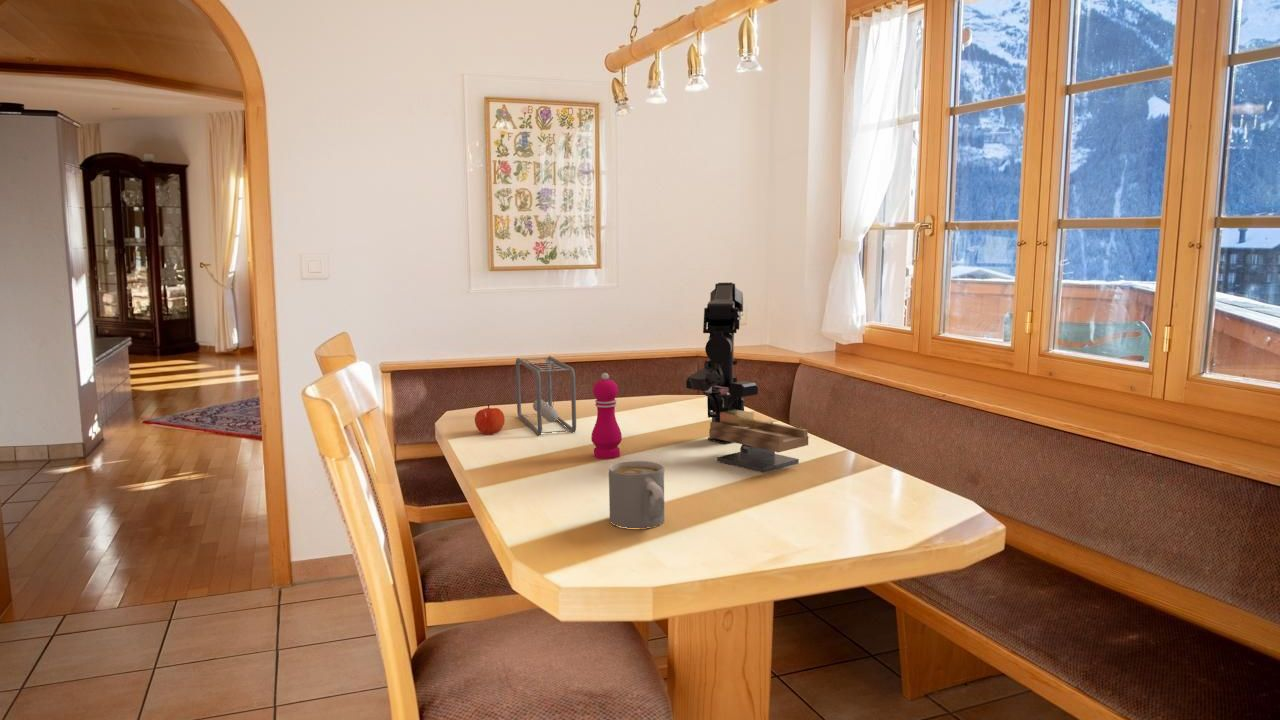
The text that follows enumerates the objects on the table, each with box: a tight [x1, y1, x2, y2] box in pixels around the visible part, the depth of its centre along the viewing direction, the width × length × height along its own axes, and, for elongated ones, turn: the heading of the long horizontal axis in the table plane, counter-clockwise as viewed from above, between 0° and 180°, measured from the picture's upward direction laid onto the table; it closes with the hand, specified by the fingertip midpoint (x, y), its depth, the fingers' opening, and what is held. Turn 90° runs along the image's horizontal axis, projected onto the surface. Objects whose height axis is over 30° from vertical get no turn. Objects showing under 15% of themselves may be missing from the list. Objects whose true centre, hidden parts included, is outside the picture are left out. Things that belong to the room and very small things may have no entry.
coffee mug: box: [608, 460, 666, 528], centre depth 155 cm, size 13×10×10 cm
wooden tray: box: [708, 419, 809, 453], centre depth 197 cm, size 21×10×4 cm, turn 40°
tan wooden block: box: [720, 409, 755, 429], centre depth 202 cm, size 6×5×4 cm
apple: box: [474, 403, 506, 435], centre depth 233 cm, size 8×8×8 cm
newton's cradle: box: [515, 355, 577, 436], centre depth 243 cm, size 30×10×18 cm, turn 19°
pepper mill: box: [590, 372, 623, 460], centre depth 205 cm, size 7×7×20 cm
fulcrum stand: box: [716, 444, 800, 474], centre depth 198 cm, size 14×12×5 cm
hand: (721, 421), depth 206 cm, fingers closed
